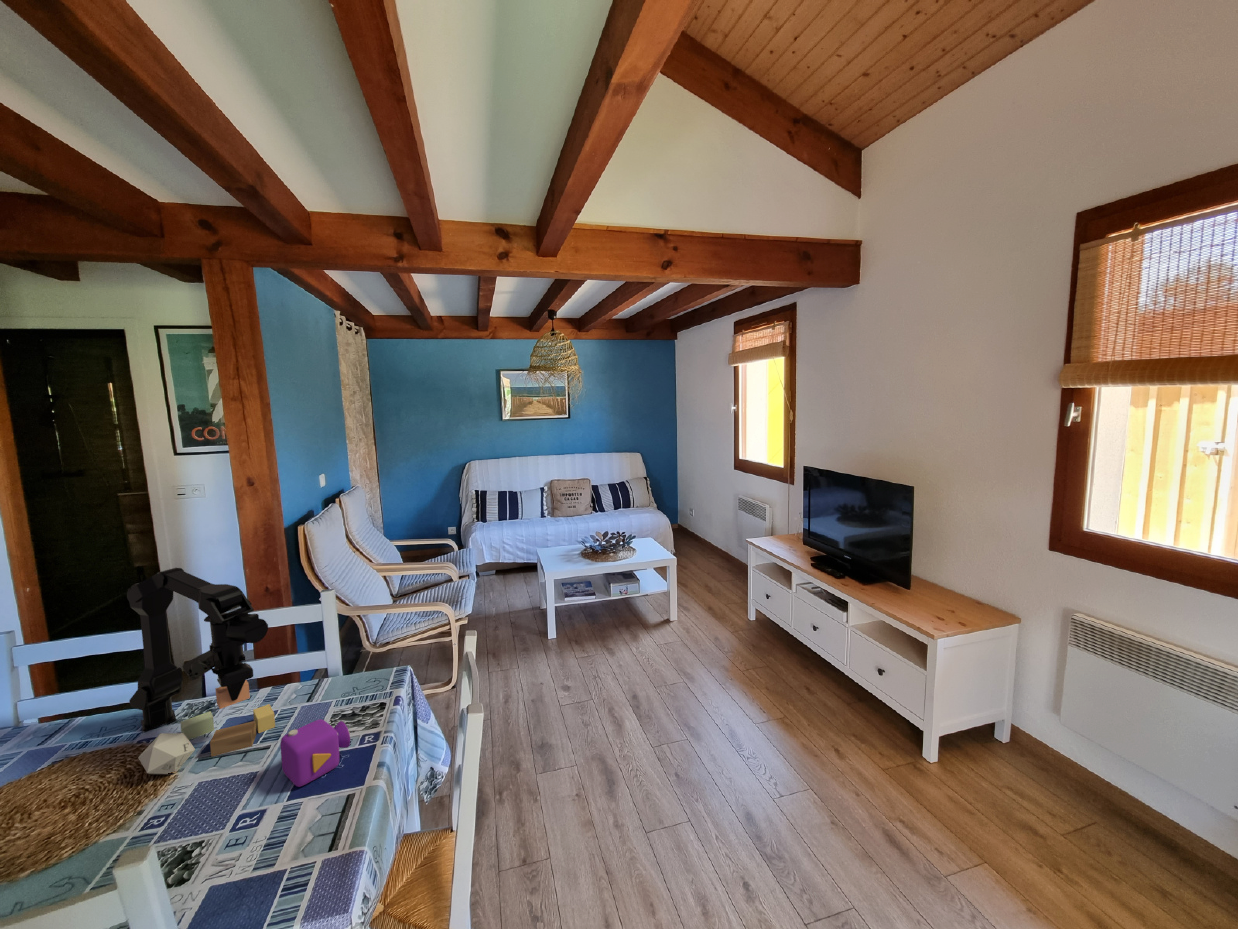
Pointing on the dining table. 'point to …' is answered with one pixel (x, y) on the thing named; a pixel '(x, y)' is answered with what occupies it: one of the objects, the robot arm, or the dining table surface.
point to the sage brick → (197, 725)
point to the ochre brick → (264, 718)
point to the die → (166, 753)
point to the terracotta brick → (224, 696)
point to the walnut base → (233, 738)
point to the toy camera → (312, 750)
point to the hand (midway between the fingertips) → (232, 697)
